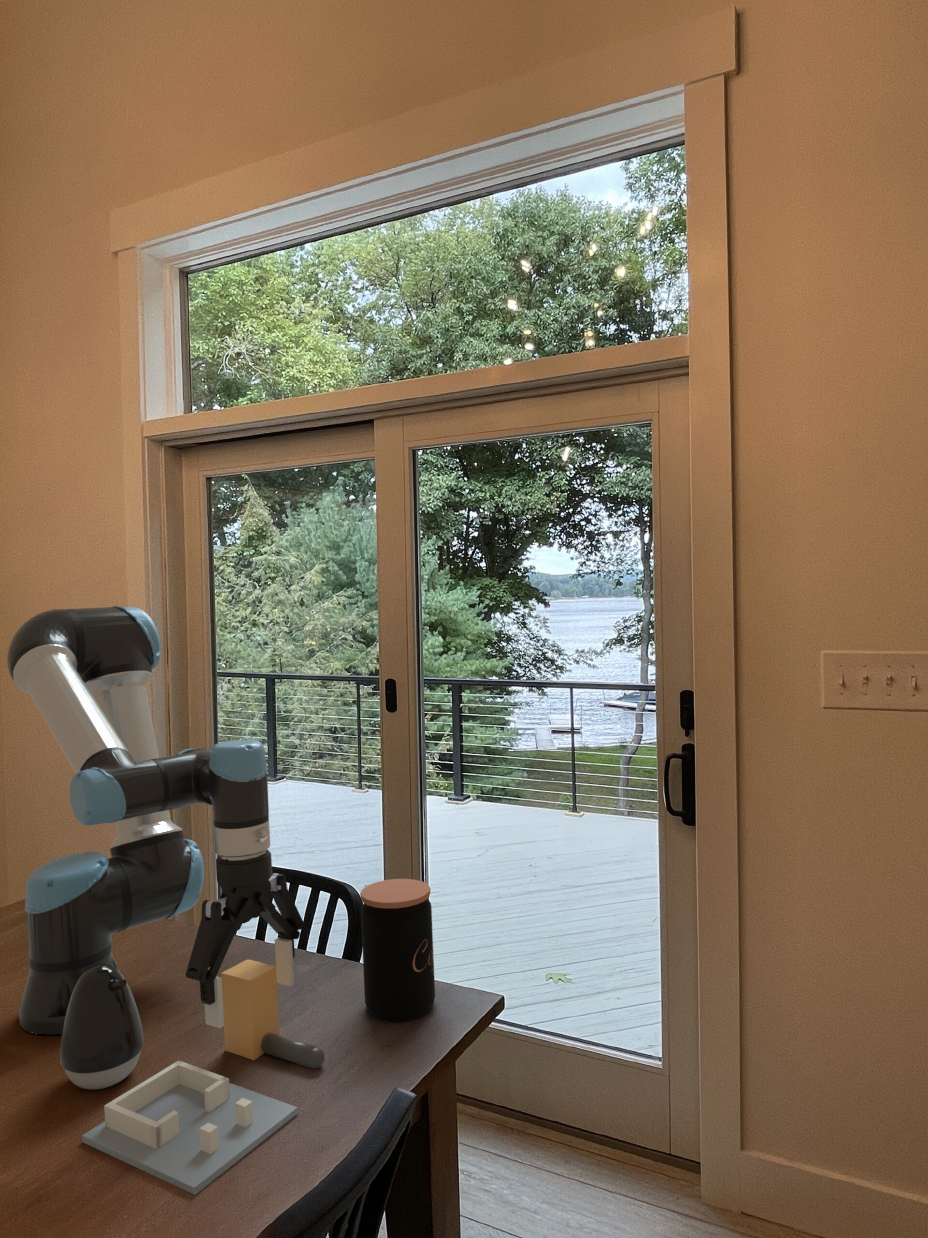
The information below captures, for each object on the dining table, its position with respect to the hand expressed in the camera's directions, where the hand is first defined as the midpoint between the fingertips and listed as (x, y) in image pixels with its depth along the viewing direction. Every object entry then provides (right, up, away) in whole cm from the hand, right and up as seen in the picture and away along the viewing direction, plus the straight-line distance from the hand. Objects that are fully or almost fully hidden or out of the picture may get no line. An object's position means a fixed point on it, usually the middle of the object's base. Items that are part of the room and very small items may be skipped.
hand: (251, 1003), depth 120 cm
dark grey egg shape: (-18, -7, -6) cm, 20 cm away
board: (-3, -7, -18) cm, 19 cm away
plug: (+4, -6, -2) cm, 8 cm away
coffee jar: (+20, -5, +11) cm, 23 cm away
